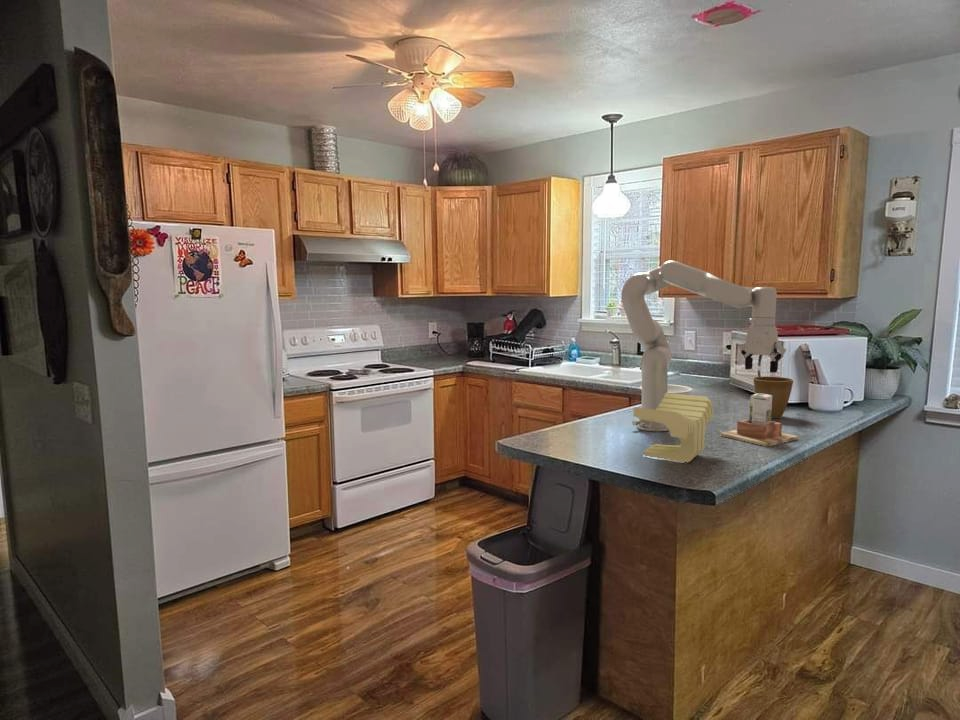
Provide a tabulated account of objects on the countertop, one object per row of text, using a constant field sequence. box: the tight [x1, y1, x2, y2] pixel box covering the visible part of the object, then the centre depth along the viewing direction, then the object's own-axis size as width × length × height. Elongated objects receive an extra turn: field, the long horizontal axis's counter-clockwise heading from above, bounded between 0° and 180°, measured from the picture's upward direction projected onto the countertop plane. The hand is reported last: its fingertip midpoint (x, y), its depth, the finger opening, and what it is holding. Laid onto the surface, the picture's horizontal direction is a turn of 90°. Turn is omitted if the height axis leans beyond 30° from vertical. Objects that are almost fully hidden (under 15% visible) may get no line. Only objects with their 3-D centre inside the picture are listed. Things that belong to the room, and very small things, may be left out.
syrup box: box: [748, 393, 772, 426], centre depth 216 cm, size 6×6×14 cm
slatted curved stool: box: [633, 393, 714, 464], centre depth 194 cm, size 30×16×18 cm, turn 145°
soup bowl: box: [638, 383, 693, 395], centre depth 286 cm, size 24×24×7 cm
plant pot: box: [752, 376, 794, 419], centre depth 251 cm, size 15×15×16 cm
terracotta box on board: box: [720, 418, 799, 448], centre depth 217 cm, size 18×18×6 cm
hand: (760, 370), depth 215 cm, fingers open, 9 cm apart
